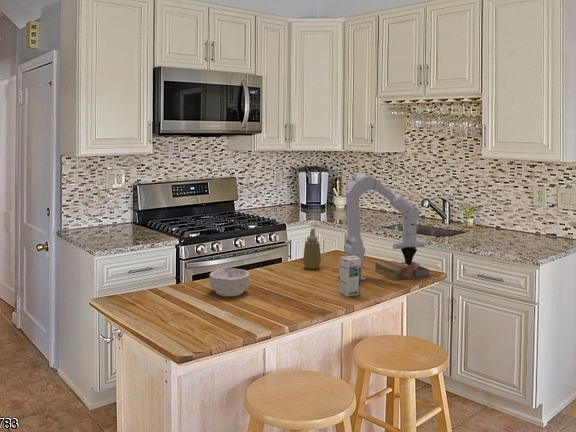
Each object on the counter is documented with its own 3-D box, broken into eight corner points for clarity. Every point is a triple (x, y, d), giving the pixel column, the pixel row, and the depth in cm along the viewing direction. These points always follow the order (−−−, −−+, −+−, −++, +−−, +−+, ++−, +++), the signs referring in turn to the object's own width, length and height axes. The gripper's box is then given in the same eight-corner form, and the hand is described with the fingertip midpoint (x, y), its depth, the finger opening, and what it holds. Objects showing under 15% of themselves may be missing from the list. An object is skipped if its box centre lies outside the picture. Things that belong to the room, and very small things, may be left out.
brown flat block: (393, 280, 240) (393, 270, 239) (375, 271, 254) (375, 262, 253) (413, 277, 244) (414, 268, 243) (394, 269, 257) (395, 260, 257)
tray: (414, 277, 244) (414, 271, 243) (395, 269, 258) (395, 262, 257) (429, 276, 246) (429, 269, 246) (409, 268, 260) (410, 261, 260)
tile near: (415, 263, 245) (418, 263, 246) (408, 260, 250) (412, 260, 250) (413, 274, 246) (416, 274, 246) (406, 271, 250) (410, 272, 251)
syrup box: (347, 297, 216) (348, 259, 213) (339, 292, 221) (340, 256, 219) (360, 295, 218) (361, 258, 216) (352, 291, 223) (353, 254, 221)
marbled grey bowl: (204, 297, 213) (204, 277, 211) (216, 286, 227) (216, 267, 226) (244, 300, 210) (244, 279, 209) (253, 289, 225) (253, 269, 224)
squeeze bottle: (324, 267, 259) (324, 228, 256) (315, 271, 252) (315, 231, 250) (308, 265, 263) (309, 226, 261) (299, 268, 257) (300, 229, 254)
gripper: (399, 236, 239) (398, 267, 241) (429, 234, 244) (427, 265, 246) (390, 233, 245) (389, 264, 247) (419, 231, 250) (418, 261, 252)
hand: (408, 264), depth 247 cm, fingers closed
